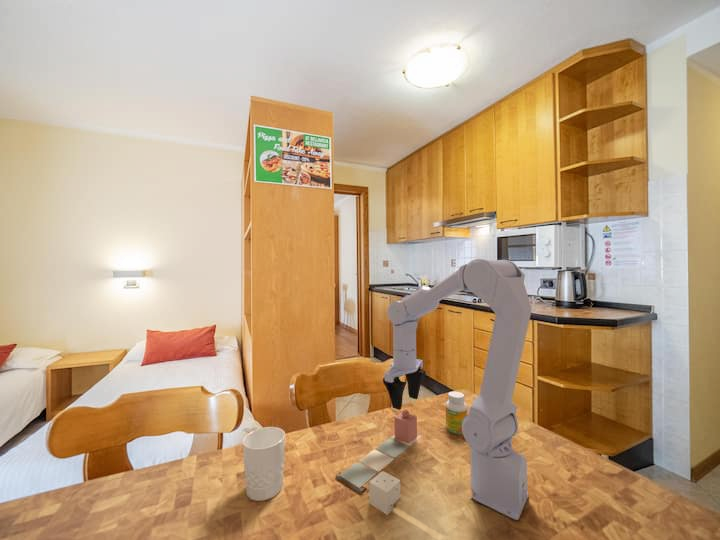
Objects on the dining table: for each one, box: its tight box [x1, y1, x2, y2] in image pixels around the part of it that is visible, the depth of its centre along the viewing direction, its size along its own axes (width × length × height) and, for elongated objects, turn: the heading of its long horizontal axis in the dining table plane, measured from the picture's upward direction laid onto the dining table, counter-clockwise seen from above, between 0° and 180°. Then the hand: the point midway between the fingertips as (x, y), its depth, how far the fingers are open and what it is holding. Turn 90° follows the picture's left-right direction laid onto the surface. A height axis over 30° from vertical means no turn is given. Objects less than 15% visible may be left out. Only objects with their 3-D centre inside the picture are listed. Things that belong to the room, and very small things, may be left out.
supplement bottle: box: [445, 391, 468, 435], centre depth 78 cm, size 5×5×10 cm
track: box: [335, 433, 422, 495], centre depth 68 cm, size 7×24×1 cm, turn 139°
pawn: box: [394, 409, 418, 443], centre depth 74 cm, size 4×4×7 cm
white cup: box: [242, 426, 286, 502], centre depth 58 cm, size 8×8×10 cm
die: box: [368, 470, 401, 516], centre depth 54 cm, size 4×4×4 cm
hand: (405, 402), depth 75 cm, fingers open, 7 cm apart
